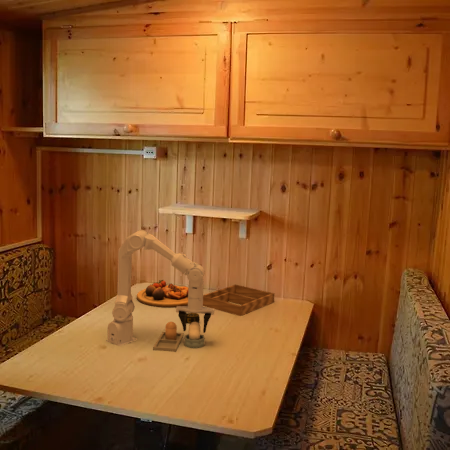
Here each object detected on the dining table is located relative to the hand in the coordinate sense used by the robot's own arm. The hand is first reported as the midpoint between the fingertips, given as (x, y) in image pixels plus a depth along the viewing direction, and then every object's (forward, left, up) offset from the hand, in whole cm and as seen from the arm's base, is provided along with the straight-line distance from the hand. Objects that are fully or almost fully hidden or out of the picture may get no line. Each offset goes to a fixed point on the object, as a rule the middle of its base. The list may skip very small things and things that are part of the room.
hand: (194, 331), depth 200 cm
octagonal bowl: (0, 0, -6) cm, 6 cm away
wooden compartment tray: (+56, +19, -6) cm, 59 cm away
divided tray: (-5, +9, -6) cm, 12 cm away
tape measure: (+19, +18, -6) cm, 27 cm away
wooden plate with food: (+40, +50, -6) cm, 64 cm away
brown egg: (-2, +11, -5) cm, 12 cm away
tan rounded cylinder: (0, 0, -3) cm, 3 cm away
